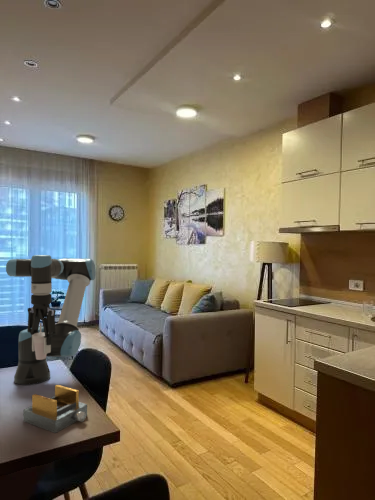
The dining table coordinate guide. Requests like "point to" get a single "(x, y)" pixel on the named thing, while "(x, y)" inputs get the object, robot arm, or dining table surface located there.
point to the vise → (56, 410)
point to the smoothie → (39, 345)
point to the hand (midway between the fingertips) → (41, 351)
